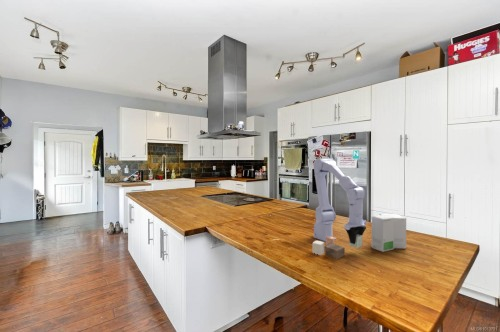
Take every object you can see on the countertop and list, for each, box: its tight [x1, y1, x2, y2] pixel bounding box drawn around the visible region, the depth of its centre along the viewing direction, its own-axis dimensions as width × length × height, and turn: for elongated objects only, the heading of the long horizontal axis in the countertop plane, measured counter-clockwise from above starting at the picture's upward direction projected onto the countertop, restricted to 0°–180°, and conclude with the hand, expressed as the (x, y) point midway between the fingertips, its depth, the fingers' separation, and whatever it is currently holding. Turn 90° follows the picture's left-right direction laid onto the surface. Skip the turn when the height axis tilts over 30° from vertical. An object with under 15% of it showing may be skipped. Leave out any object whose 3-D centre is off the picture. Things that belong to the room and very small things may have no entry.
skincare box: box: [370, 215, 395, 253], centre depth 111 cm, size 8×7×16 cm
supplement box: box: [378, 213, 407, 249], centre depth 115 cm, size 9×9×15 cm
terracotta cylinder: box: [325, 235, 335, 246], centre depth 114 cm, size 4×4×5 cm
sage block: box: [348, 234, 363, 249], centre depth 107 cm, size 4×4×5 cm
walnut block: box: [324, 243, 346, 260], centre depth 105 cm, size 6×6×4 cm
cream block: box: [312, 239, 325, 256], centre depth 107 cm, size 4×4×5 cm
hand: (355, 242), depth 107 cm, fingers closed on sage block, 4 cm apart
